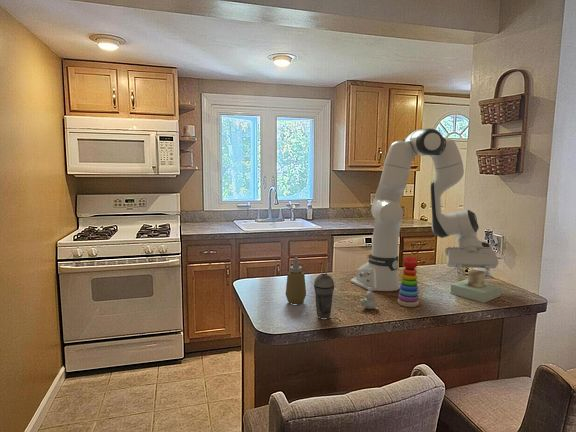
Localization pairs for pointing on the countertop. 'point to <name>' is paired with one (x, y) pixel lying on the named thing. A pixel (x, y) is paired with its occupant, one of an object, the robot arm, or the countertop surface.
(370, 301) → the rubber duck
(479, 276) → the peg
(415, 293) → the stacking toy
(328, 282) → the beverage cup
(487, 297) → the socket block
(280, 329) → the countertop surface
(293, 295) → the squeeze bottle
